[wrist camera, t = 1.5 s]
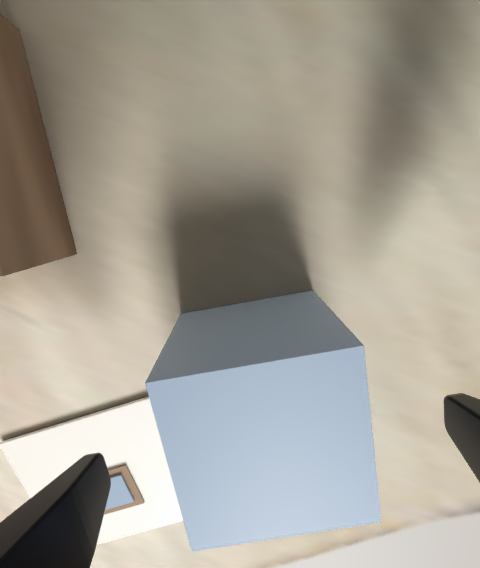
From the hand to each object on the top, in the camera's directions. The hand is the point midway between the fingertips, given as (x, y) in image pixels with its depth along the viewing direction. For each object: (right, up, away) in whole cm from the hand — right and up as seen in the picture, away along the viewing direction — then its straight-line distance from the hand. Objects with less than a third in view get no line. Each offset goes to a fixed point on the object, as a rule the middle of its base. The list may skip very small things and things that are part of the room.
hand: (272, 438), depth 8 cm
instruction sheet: (-6, -4, +5) cm, 9 cm away
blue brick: (0, +1, +4) cm, 4 cm away
